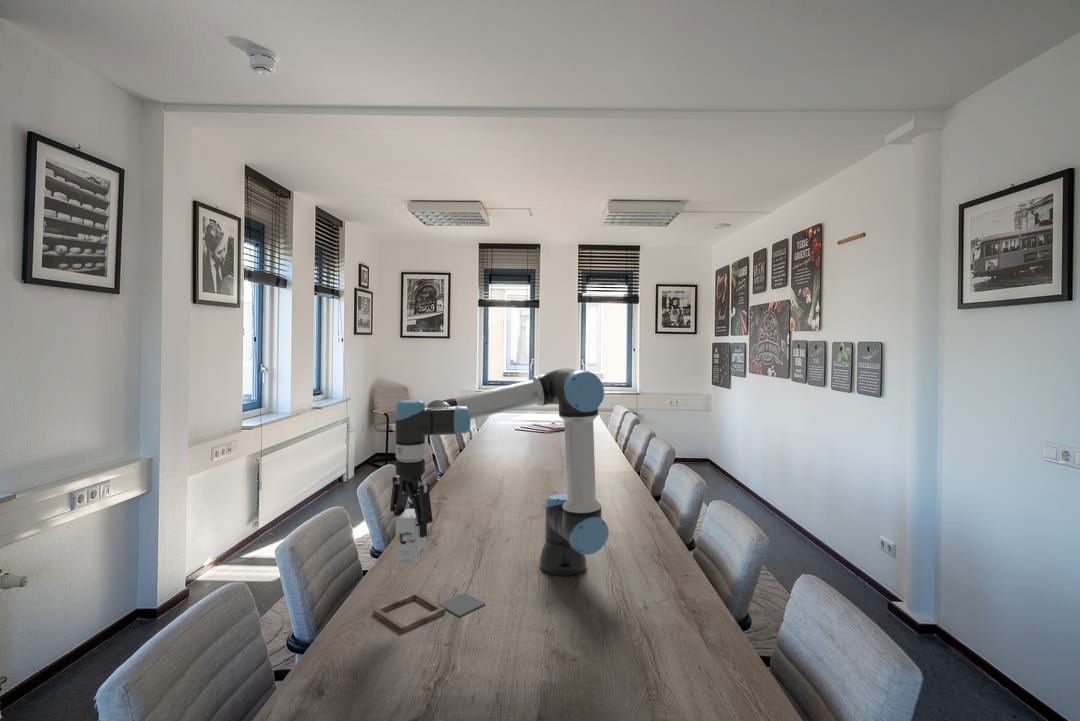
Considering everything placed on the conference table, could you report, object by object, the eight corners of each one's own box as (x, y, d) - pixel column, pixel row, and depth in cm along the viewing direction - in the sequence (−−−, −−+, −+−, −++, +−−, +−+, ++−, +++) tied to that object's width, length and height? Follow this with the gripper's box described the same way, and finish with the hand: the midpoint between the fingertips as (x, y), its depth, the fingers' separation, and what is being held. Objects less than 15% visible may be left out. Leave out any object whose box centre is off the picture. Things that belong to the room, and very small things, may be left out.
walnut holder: (416, 596, 148) (416, 592, 148) (445, 613, 139) (445, 608, 139) (373, 613, 138) (373, 609, 138) (401, 633, 129) (401, 628, 129)
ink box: (406, 550, 143) (405, 507, 142) (424, 550, 143) (423, 507, 142) (396, 563, 134) (396, 518, 134) (415, 563, 134) (415, 518, 134)
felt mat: (464, 594, 150) (464, 592, 150) (485, 604, 144) (485, 603, 144) (438, 605, 143) (438, 603, 143) (459, 617, 137) (459, 615, 137)
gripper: (376, 455, 142) (376, 537, 143) (422, 468, 127) (422, 559, 128) (400, 451, 147) (400, 529, 148) (447, 463, 133) (447, 550, 134)
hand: (410, 543), depth 138 cm, fingers closed on ink box, 9 cm apart
